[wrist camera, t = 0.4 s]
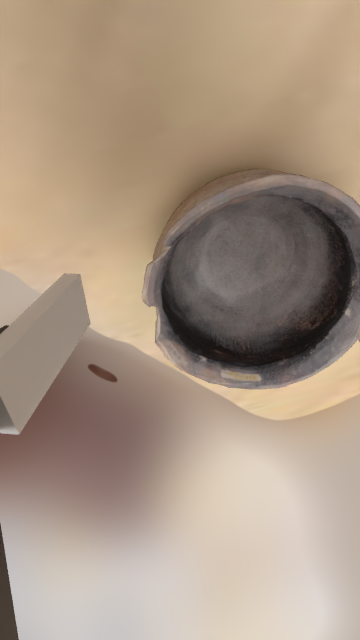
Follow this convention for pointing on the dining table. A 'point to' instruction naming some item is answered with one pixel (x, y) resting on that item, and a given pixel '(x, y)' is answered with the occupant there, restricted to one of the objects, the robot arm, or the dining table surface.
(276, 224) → the ceramic bowl
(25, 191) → the dining table surface
